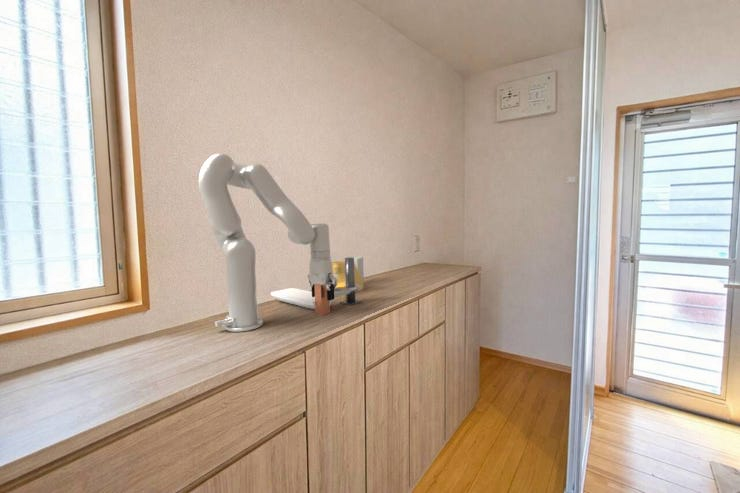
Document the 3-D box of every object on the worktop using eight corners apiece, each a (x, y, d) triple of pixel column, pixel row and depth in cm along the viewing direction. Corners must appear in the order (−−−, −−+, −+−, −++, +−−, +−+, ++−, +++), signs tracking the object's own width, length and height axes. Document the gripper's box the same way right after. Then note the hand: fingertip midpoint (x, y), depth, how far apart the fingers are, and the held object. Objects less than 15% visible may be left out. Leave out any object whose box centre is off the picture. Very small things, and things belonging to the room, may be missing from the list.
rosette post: (335, 310, 138) (334, 261, 136) (323, 307, 143) (321, 260, 141) (365, 302, 150) (363, 257, 148) (352, 299, 155) (351, 256, 153)
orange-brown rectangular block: (322, 315, 131) (320, 284, 130) (315, 313, 134) (314, 283, 133) (329, 313, 134) (328, 283, 133) (323, 311, 137) (322, 282, 136)
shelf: (292, 298, 162) (291, 287, 161) (335, 308, 142) (334, 296, 141) (271, 303, 153) (270, 292, 153) (313, 314, 133) (313, 301, 133)
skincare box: (354, 283, 192) (353, 256, 191) (364, 284, 190) (363, 256, 188) (347, 286, 184) (346, 258, 183) (358, 287, 182) (357, 258, 181)
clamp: (342, 297, 160) (340, 264, 159) (326, 295, 165) (325, 263, 163) (363, 289, 177) (362, 258, 176) (348, 287, 182) (347, 258, 181)
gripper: (299, 255, 135) (302, 297, 137) (326, 257, 123) (329, 303, 125) (315, 253, 141) (317, 293, 142) (342, 255, 129) (344, 299, 130)
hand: (323, 298), depth 134 cm, fingers open, 9 cm apart
